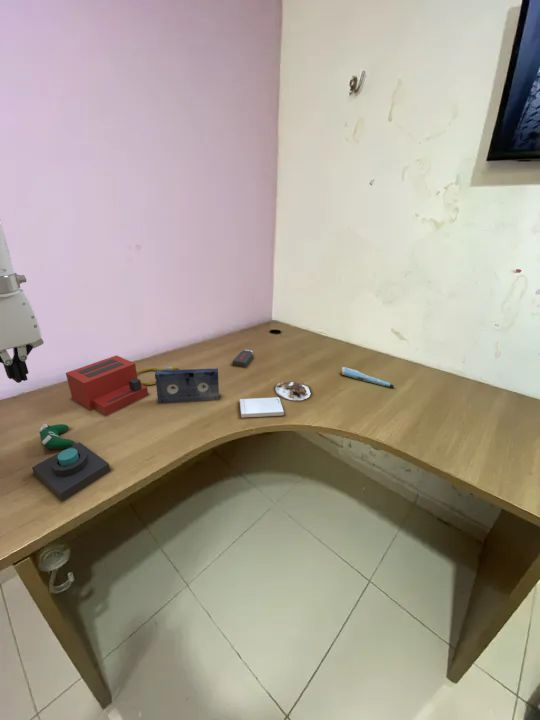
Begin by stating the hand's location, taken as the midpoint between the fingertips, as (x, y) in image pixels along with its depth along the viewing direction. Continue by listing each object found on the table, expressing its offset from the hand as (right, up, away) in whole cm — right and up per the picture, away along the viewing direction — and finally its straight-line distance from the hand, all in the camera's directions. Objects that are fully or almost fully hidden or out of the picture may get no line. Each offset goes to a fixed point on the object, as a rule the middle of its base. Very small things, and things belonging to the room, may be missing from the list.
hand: (19, 379), depth 60 cm
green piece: (-4, -17, +16) cm, 24 cm away
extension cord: (+9, -3, +48) cm, 49 cm away
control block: (+6, -21, +8) cm, 23 cm away
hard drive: (+46, -11, +33) cm, 58 cm away
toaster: (0, -8, +36) cm, 37 cm away
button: (+6, -18, +6) cm, 20 cm away
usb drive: (+39, +3, +63) cm, 74 cm away
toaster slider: (+8, -5, +34) cm, 36 cm away
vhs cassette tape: (+24, -9, +36) cm, 44 cm away
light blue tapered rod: (+84, -4, +52) cm, 99 cm away
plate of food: (+57, -7, +43) cm, 72 cm away
